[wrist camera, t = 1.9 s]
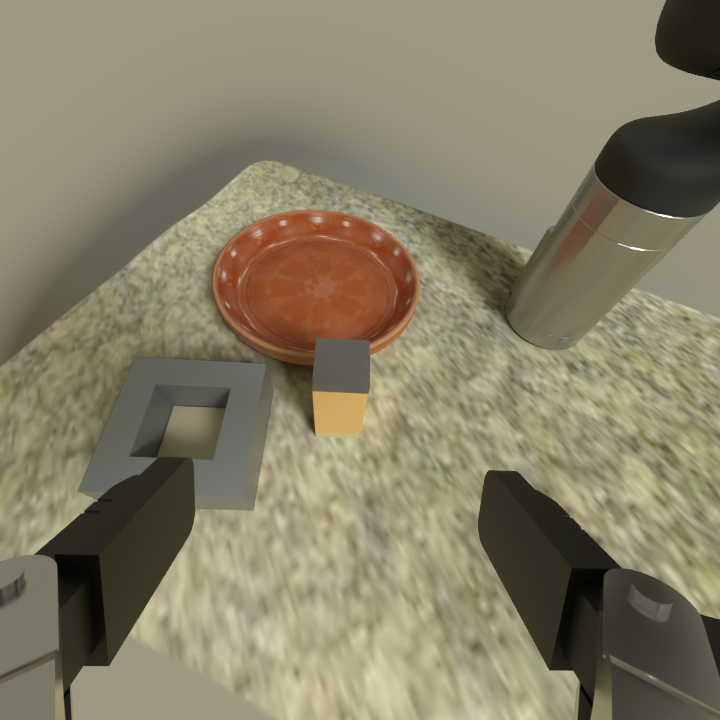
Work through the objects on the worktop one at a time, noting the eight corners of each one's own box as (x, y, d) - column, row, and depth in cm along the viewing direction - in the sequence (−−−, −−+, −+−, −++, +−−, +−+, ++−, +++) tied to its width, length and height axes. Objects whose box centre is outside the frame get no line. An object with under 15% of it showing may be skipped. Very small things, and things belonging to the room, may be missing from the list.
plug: (319, 397, 35) (316, 337, 27) (359, 399, 35) (369, 340, 27) (315, 436, 33) (311, 384, 25) (358, 438, 33) (369, 387, 25)
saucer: (297, 211, 51) (295, 186, 48) (442, 276, 46) (451, 254, 43) (175, 313, 39) (163, 289, 36) (353, 415, 35) (355, 398, 32)
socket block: (158, 385, 34) (135, 356, 30) (273, 390, 35) (266, 363, 31) (113, 506, 28) (77, 491, 24) (253, 510, 29) (241, 496, 25)
